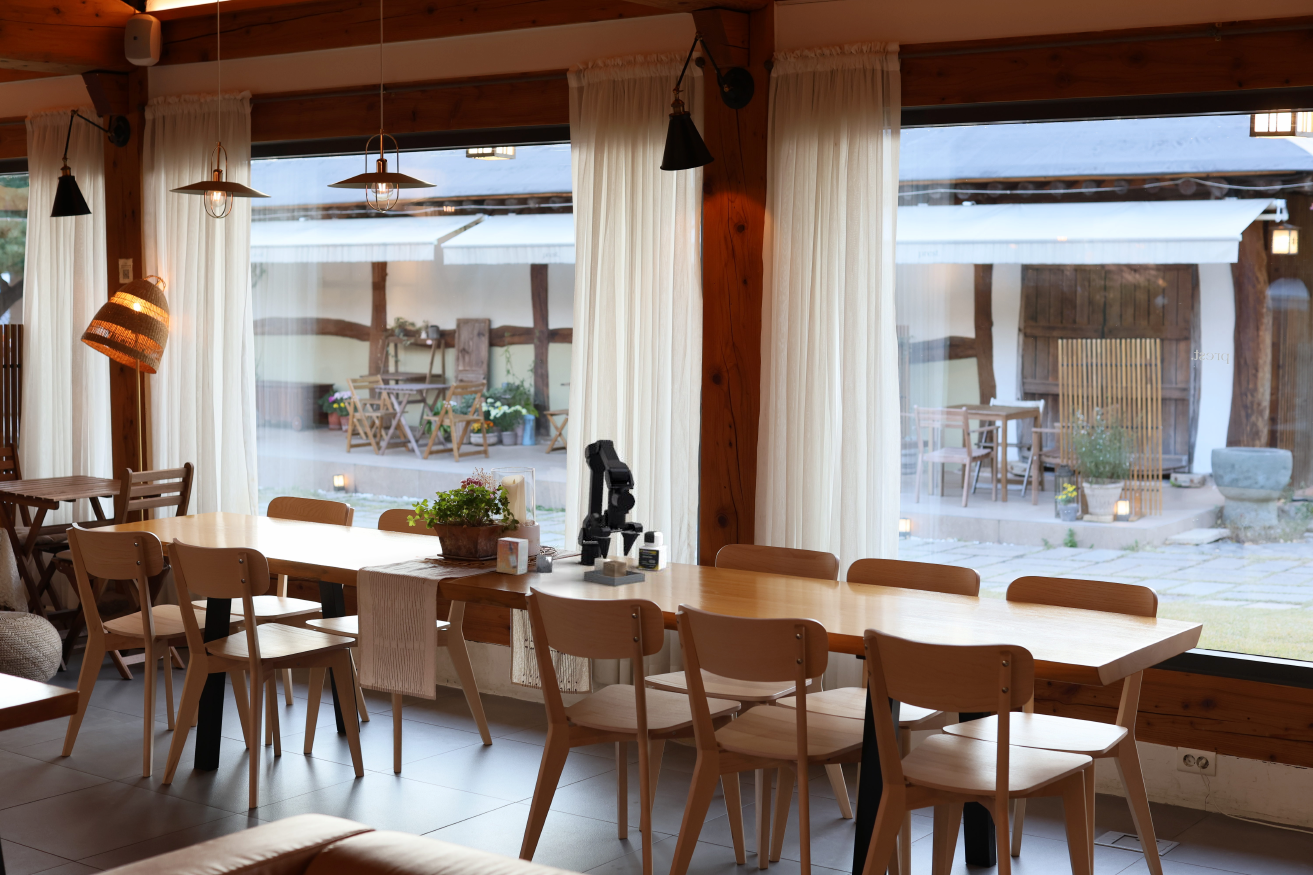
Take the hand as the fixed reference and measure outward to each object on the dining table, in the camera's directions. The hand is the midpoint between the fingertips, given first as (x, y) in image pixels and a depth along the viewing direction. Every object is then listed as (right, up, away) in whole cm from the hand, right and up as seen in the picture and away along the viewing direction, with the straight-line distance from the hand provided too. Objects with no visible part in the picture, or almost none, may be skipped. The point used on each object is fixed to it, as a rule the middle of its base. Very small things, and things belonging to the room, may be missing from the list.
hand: (615, 557), depth 394 cm
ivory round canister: (-4, -6, +10) cm, 12 cm away
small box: (-33, -6, +8) cm, 34 cm away
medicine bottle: (+11, -6, +24) cm, 27 cm away
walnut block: (0, -7, +1) cm, 7 cm away
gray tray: (0, -7, +1) cm, 7 cm away
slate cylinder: (-23, -6, +12) cm, 26 cm away
